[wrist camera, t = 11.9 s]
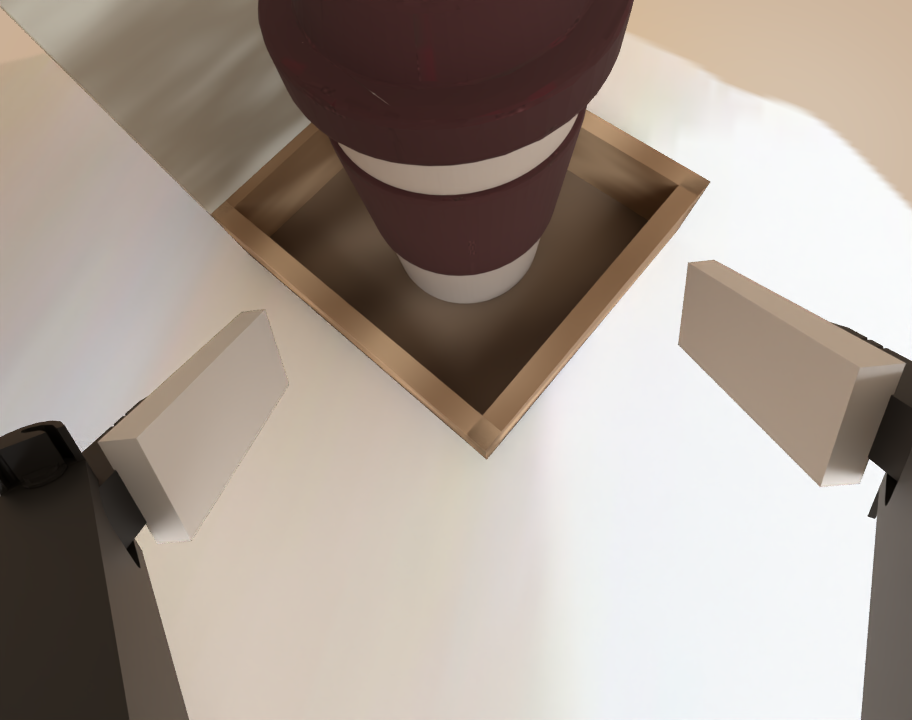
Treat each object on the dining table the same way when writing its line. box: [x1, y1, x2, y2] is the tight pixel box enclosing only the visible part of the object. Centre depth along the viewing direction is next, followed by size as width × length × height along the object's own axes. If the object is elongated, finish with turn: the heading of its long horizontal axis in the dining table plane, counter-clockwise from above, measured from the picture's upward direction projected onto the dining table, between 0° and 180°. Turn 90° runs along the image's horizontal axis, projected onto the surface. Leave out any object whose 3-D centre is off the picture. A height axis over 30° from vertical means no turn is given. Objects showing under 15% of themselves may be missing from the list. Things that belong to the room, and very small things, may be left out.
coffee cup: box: [258, 0, 634, 304], centre depth 18 cm, size 10×10×15 cm
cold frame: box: [0, 0, 710, 459], centre depth 16 cm, size 24×16×22 cm, turn 49°
